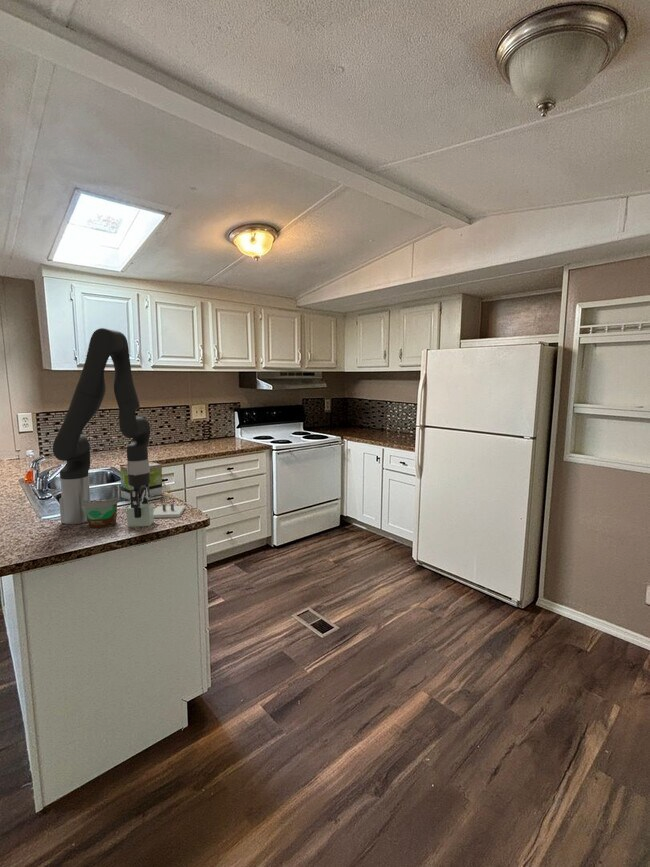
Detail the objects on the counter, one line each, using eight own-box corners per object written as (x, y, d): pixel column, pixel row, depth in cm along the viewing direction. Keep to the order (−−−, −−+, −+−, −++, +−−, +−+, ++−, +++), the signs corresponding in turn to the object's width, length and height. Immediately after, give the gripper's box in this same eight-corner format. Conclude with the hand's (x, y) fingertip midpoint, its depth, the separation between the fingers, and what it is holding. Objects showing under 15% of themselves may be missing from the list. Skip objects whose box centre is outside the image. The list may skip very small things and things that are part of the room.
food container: (79, 530, 147) (77, 503, 146) (84, 524, 153) (82, 498, 152) (116, 527, 150) (115, 501, 149) (120, 521, 156) (118, 496, 155)
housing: (127, 526, 151) (126, 508, 150) (132, 521, 156) (131, 504, 155) (150, 525, 152) (149, 507, 151) (153, 521, 157) (153, 503, 156)
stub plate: (150, 517, 161) (149, 508, 160) (158, 509, 172) (157, 500, 171) (179, 517, 162) (178, 508, 162) (185, 508, 173) (185, 499, 172)
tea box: (132, 501, 181) (130, 469, 179) (121, 497, 187) (119, 466, 185) (163, 494, 193) (162, 463, 191) (151, 490, 199) (150, 460, 197)
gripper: (134, 467, 158) (137, 508, 160) (120, 476, 144) (124, 520, 146) (154, 467, 159) (157, 507, 161) (143, 475, 145) (146, 519, 147)
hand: (141, 513), depth 154 cm, fingers open, 8 cm apart
